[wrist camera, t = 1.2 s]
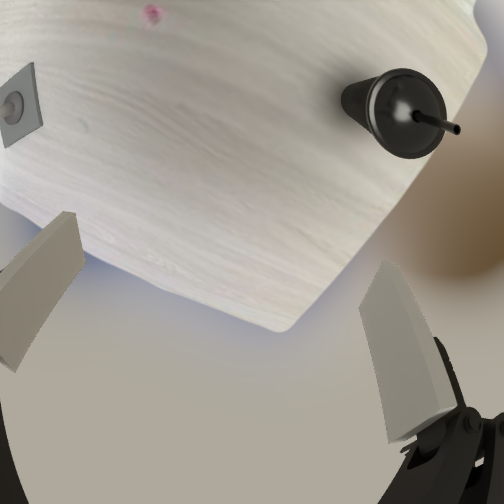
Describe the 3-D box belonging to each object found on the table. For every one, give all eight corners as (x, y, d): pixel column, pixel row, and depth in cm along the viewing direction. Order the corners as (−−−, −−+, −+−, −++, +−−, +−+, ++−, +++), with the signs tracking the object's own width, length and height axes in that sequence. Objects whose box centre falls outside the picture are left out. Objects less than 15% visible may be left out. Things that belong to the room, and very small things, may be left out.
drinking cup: (347, 140, 31) (425, 206, 14) (318, 87, 27) (383, 87, 11) (396, 117, 28) (503, 165, 12) (370, 64, 25) (475, 57, 8)
